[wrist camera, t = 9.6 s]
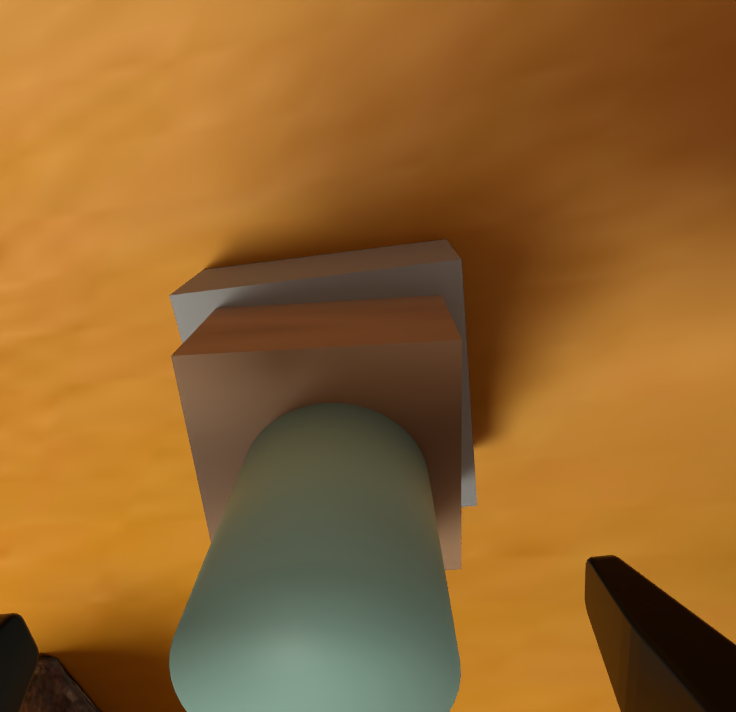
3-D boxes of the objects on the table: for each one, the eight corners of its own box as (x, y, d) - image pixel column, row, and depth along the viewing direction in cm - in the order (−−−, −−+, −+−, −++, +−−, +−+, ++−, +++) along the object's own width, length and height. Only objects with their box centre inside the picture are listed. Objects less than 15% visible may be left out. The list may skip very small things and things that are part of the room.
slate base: (460, 446, 23) (476, 505, 19) (255, 468, 24) (233, 529, 20) (444, 237, 20) (461, 259, 16) (206, 267, 20) (169, 295, 17)
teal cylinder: (439, 548, 15) (473, 757, 10) (265, 568, 15) (213, 781, 10) (416, 389, 13) (444, 546, 8) (221, 416, 14) (128, 583, 8)
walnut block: (443, 485, 19) (460, 569, 15) (248, 495, 19) (218, 579, 16) (441, 295, 16) (461, 340, 13) (215, 308, 17) (171, 356, 13)
